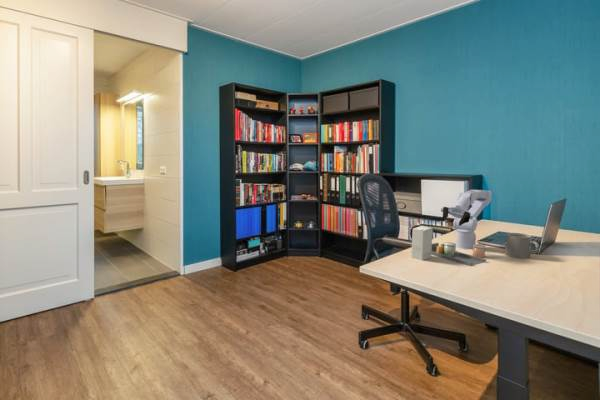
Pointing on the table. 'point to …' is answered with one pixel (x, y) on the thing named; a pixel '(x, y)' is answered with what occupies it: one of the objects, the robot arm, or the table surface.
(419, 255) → the skincare box
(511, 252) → the coffee mug
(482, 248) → the jar
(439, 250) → the pusher
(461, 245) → the robot arm
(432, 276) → the table surface
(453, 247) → the jar
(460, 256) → the grey rectangular tray
